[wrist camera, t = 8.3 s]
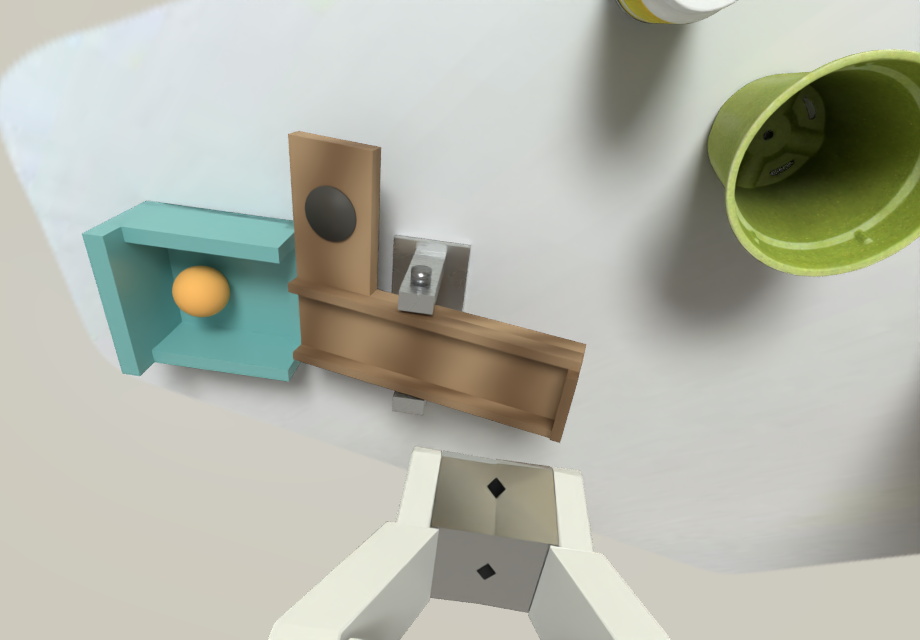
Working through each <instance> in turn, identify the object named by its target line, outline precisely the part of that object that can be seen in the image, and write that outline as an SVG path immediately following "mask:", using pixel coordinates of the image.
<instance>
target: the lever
mask: <svg viewBox="0 0 920 640" xmlns="http://www.w3.org/2000/svg"><path fill="white" fill-rule="evenodd" d="M288 139H289V155H290V171H291V187H292V203H293V220H294V236H295V252H296V268H297V277H296V278H295V279H293V280H292V281H290V282H289V283H288V292H290V293H293V294H297V295H298V300H299V316H300V332H301V345H300V346H299V347H298V348H297V349H295V350H294V351H293V359H294V360H297V361H300V362H304V363H307V364H310V365H313V366H317V367H320V368H323V369H326V370H330V371H333V372H336V373H339V374H343V375H346V376H349V377H352V378H356V379H359V380H362V381H365V382H369V383H372V384H375V385H378V386H382V387H385V388H388V389H392V390H395V391H398V392H401V393H405V394H408V395H411V396H414V397H418V398H421V399H424V400H427V401H431V402H434V403H437V404H440V405H444V406H447V407H450V408H453V409H457V410H460V411H463V412H466V413H470V414H473V415H476V416H479V417H483V418H486V419H489V420H492V421H496V422H499V423H502V424H506V425H509V426H512V427H515V428H519V429H522V430H525V431H528V432H532V433H535V434H538V435H541V436H545V437H548V438H550V440H552V441H556V442H559V443H560V441H561V437H562V434H563V430H564V427H565V423H566V420H567V416H568V413H569V409H570V406H571V402H572V399H573V395H574V392H575V389H576V385H577V382H578V377H579V373H580V369H581V366H582V362H583V357H584V353H585V348H586V344H583V343H579V342H575V341H572V340H568V339H564V338H560V337H556V336H552V335H549V334H545V333H541V332H537V331H533V330H530V329H526V328H522V327H518V326H514V325H511V324H507V323H503V322H499V321H495V320H492V319H488V318H484V317H480V316H476V315H473V314H469V313H465V312H461V311H457V310H454V309H450V308H446V307H442V306H438V305H435V307H434V311H433V315H431V314H424V313H417V312H410V311H402V310H398V297H399V295H397V294H393V293H389V292H385V291H381V290H377V274H378V238H379V203H380V167H381V147H377V146H372V145H367V144H362V143H357V142H351V141H346V140H341V139H336V138H331V137H326V136H321V135H316V134H311V133H306V132H301V131H298V132H294V133H290V134H288Z"/></svg>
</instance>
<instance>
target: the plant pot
mask: <svg viewBox="0 0 920 640" xmlns="http://www.w3.org/2000/svg"><path fill="white" fill-rule="evenodd" d="M804 97H805V98H808V99H809V100H810V101H811V102H812V103H813V105H814V106H815V111H816V114H815V118H814V119H812V120H810V119H809V115H808V111H807V108H806V105H805V102H804V101H803V98H804ZM769 130H770V131H772V132H773V136H772V138H770V139H768V140H765V139H764V138H763V135H764V133H765V132H767V131H769ZM708 155H709V160H710V162H711V165H712V167H713V169H714V170H715V172H716V174H717V176H718V178H719V179H720V181H721V182H722V184H723V186H724V188H725V206H726V213H727V217H728V220H729V223H730V226H731V228H732V230H733V232H734V234H735V236H736V238H737V239H738V240H739V242H740V243H741V244H742V246H743V247H744V248H745V249H746V250H747V251H748V252H749V253H750V254H751V255H752V256H753V257H755V258H756V259H757V260H759V261H760V262H762V263H763V264H765V265H767V266H769V267H771V268H773V269H776V270H779V271H781V272H785V273H789V274H794V275H798V276H830V275H837V274H842V273H846V272H851V271H855V270H858V269H862V268H865V267H868V266H870V265H872V264H875V263H877V262H879V261H881V260H883V259H885V258H887V257H889V256H891V255H893V254H895V253H897V252H899V251H900V250H902V249H903V248H905V247H906V246H908V245H909V244H911V243H912V242H913V241H914V240H916V239H917V238H918V237H920V53H919V52H915V51H908V50H896V49H891V50H875V51H868V52H862V53H858V54H853V55H850V56H847V57H844V58H841V59H838V60H835V61H832V62H830V63H828V64H826V65H823V66H821V67H819V68H817V69H815V70H814V71H812V72H802V73H788V74H776V75H771V76H766V77H763V78H760V79H757V80H755V81H753V82H751V83H749V84H747V85H745V86H744V87H743V88H741V89H740V90H738V91H737V92H736V93H735V94H734V95H732V96H731V97H730V98H729V99H728V100H727V101H726V102H725V104H724V105H723V106H722V107H721V109H720V111H719V112H718V114H717V117H716V119H715V121H714V124H713V126H712V129H711V132H710V135H709V138H708ZM791 160H794V162H793V165H792V166H790V167H789V168H788V169H786V170H785V171H783V172H781V173H779V174H777V175H770V172H771V171H773V170H775V169H777V168H780V167H782V166H784V165H785V164H787V163H788V162H790V161H791Z"/></svg>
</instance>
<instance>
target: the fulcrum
mask: <svg viewBox="0 0 920 640" xmlns="http://www.w3.org/2000/svg"><path fill="white" fill-rule="evenodd" d="M469 253H470V245H466V244H459V243H452V242H444V241H437V240H430V239H422V238H415V237H408V236H400V235H395V237H394V251H393V273H392V293H393V294H397V295H399V297H398V310H402V311H410V312H417V313H424V314H431V315H433V311H434V307H435V305H438V306H442V307H446V308H450V309H454V310H457V311H461V312H462V308H463V300H464V292H465V284H466V277H467V269H468V261H469ZM425 404H426V400H424V399H421V398H418V397H414V396H411V395H408V394H405V393H401V392H398V391H395V392H394V396H393V410H392V411H397V412H404V413H411V414H418V415H423V413H424V409H425Z"/></svg>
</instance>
